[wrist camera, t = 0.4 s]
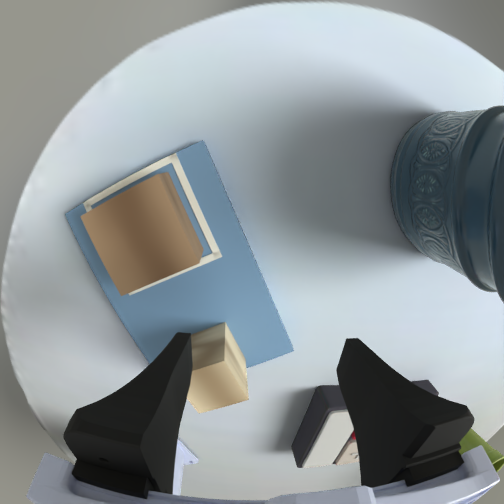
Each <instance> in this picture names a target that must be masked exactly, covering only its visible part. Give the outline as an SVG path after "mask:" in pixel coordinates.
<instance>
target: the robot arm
mask: <svg viewBox="0 0 504 504" xmlns="http://www.w3.org/2000/svg"><path fill="white" fill-rule="evenodd" d="M192 368H193V362H192V343H191V333H183V332H177V333H176V334H175V335H174V337H173V338H172V339H171V341H170V342H169V343H168V345H167V346H166V347H165V348H164V349H163V351H162V352H161V353H160V354H159V355H158V356H157V357H156V358H155V359H154V361H153V362H152V363H150V364H149V365H148V366H147V367H146V368H145V369H144V370H143V371H142V372H141V373H140V374H139V375H138V376H136V377H135V378H134V379H133V380H131V381H130V382H129V383H127V384H126V385H125V386H123V387H122V388H120V389H119V390H117V391H116V392H114V393H112V394H111V395H109V396H107V397H105V398H103V399H101V400H99V401H97V402H95V403H92V404H90V405H87V406H84V407H82V408H79V409H77V410H76V411H75V413H74V414H73V416H72V418H71V419H70V421H69V424H68V426H67V428H66V430H65V432H64V440H65V442H66V444H67V446H68V447H69V448H70V450H71V451H72V453H73V454H74V456H75V457H76V458H77V460H76V463H75V465H73V464H72V463H71V462H69V461H67V460H64V459H61V458H59V457H56V456H54V455H51V454H49V453H44V455H43V457H42V460H41V462H40V464H39V467H38V469H37V471H36V474H35V476H34V478H33V481H32V483H31V486H30V488H29V491H28V493H27V498H28V499H29V500H30V501H31V502H33V503H34V504H472V503H473V502H474V501H476V500H477V499H478V498H480V496H482V495H483V494H485V493H486V492H487V491H488V490H490V489H491V488H492V487H493V486H494V485H496V484H497V483H498V482H499V481H500V478H499V476H498V475H497V472H496V470H495V469H494V467H493V465H492V463H491V461H490V459H489V457H488V455H487V454H486V452H485V450H484V448H483V446H482V445H480V446H478V447H476V448H473V449H471V450H469V451H467V452H465V453H463V454H462V455H460V453H459V450H460V449H461V445H460V443H459V442H460V441H461V440H462V438H463V437H464V436H465V435H466V434H467V432H468V431H469V430H470V428H471V427H472V425H473V423H474V417H473V415H472V414H471V412H470V410H469V409H468V407H467V406H466V405H462V404H459V403H455V402H452V401H449V400H446V399H444V398H441V397H439V396H436V395H434V394H432V393H430V392H428V391H426V390H424V389H422V388H420V387H419V386H417V385H415V384H414V383H412V382H411V381H409V380H407V379H406V378H404V377H403V376H402V375H400V374H399V373H398V372H396V371H395V370H394V369H393V368H391V367H390V366H389V365H388V364H386V363H385V362H384V361H383V360H382V359H381V358H380V357H378V356H377V355H376V354H375V353H374V352H373V351H372V350H371V349H370V348H369V347H367V346H366V345H365V344H364V343H363V342H362V341H361V340H359V339H358V338H351V339H346V341H345V345H344V348H343V351H342V354H341V357H340V361H339V364H338V367H337V376H338V381H339V386H340V390H341V393H342V396H343V398H344V401H345V404H346V407H347V410H348V413H349V416H350V419H351V422H352V425H353V428H354V433H355V438H356V443H357V449H358V455H359V463H360V472H361V486H353V487H347V488H341V489H334V490H327V491H319V492H309V493H297V494H289V495H282V496H278V497H275V498H272V499H269V500H258V501H250V500H221V499H207V498H196V497H188V496H180V494H181V484H182V475H183V465H188V464H195V463H198V461H199V459H198V458H197V457H196V456H195V455H194V454H193V453H192V452H191V451H189V450H188V449H187V448H186V447H185V446H184V445H183V444H182V442H181V441H180V440H179V439H178V433H179V427H180V422H181V418H182V414H183V410H184V407H185V403H186V399H187V395H188V391H189V387H190V383H191V375H192Z"/></svg>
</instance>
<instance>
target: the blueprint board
mask: <svg viewBox="0 0 504 504" xmlns="http://www.w3.org/2000/svg"><path fill="white" fill-rule="evenodd" d="M166 172H169V174H170V177H171V179H172V181H173V184H174V186H175V188H176V190H177V192H178V195H179V197H180V199H181V201H182V204H183V206H184V208H185V210H186V212H187V215H188V217H189V219H190V221H191V223H192V225H193V228H194V230H195V232H196V234H197V236H198V238H199V240H200V243H201V245H202V247H203V249H204V250H203V253H202V257H201V260H200V263H199V264H197V265H194V266H192V267H190V268H187V269H185V270H182V271H180V272H178V273H175V274H173V275H170V276H168V277H166V278H163V279H161V280H159V281H156V282H154V283H152V284H149V285H147V286H144V287H142V288H140V289H137V290H135V291H133V292H130V293H128V294H126V295H123V296H121V295H120V293H119V291H118V290H117V288H116V286H115V284H114V282H113V281H112V279H111V277H110V275H109V273H108V271H107V270H106V268H105V266H104V264H103V262H102V260H101V258H100V256H99V254H98V252H97V250H96V248H95V246H94V244H93V242H92V240H91V238H90V236H89V234H88V232H87V230H86V228H85V225H84V223H83V221H82V219H81V217H80V216H82V215H84V214H85V213H87V212H89V211H90V210H92V209H94V208H95V207H97V206H99V205H101V204H102V203H104V202H106V201H108V200H109V199H111V198H113V197H115V196H117V195H118V194H120V193H122V192H124V191H126V190H128V189H130V188H131V187H133V186H135V185H137V184H139V183H141V182H143V181H145V180H147V179H149V178H151V177H153V176H155V175H157V174H160V173H166ZM65 215H66V217H67V220H68V222H69V224H70V226H71V228H72V231H73V233H74V235H75V237H76V239H77V241H78V243H79V245H80V247H81V249H82V251H83V253H84V255H85V257H86V259H87V261H88V263H89V265H90V267H91V269H92V271H93V273H94V274H95V276H96V278H97V280H98V282H99V283H100V285H101V287H102V289H103V291H104V292H105V294H106V296H107V298H108V299H109V301H110V303H111V304H112V306H113V308H114V309H115V311H116V313H117V314H118V316H119V318H120V319H121V321H122V322H123V324H124V326H125V327H126V329H127V330H128V332H129V333H130V335H131V336H132V338H133V340H134V341H135V343H136V344H137V346H138V347H139V348H140V350H141V351H142V353H143V354H144V356H145V357H146V359H147V360H148V361H149V363H152V362H153V361H154V359H155V358H156V357H157V356H158V355H159V354H160V353H161V352H162V351H163V349H164V348H165V347H166V346H167V345H168V343H169V342H170V341H171V339H172V338H173V337H174V335H175V334H176V333H177V332H183V333H191V334H194V333H197V332H200V331H203V330H205V329H208V328H211V327H214V326H216V325H219V324H222V323H224V322H226V324H227V326H228V328H229V330H230V331H231V333H232V335H233V337H234V339H235V341H236V343H237V344H238V346H239V348H240V350H241V352H242V353H243V355H244V357H245V359H246V368H249V367H251V366H254V365H257V364H260V363H263V362H266V361H268V360H271V359H274V358H277V357H279V356H282V355H284V354H287V353H290V352H292V351H294V350H293V347H292V344H291V341H290V339H289V337H288V334H287V332H286V330H285V327H284V325H283V323H282V321H281V318H280V316H279V314H278V311H277V309H276V307H275V304H274V302H273V300H272V297H271V295H270V293H269V290H268V288H267V286H266V284H265V281H264V279H263V277H262V274H261V272H260V270H259V267H258V265H257V263H256V260H255V258H254V256H253V253H252V251H251V249H250V246H249V244H248V242H247V240H246V237H245V235H244V233H243V230H242V228H241V226H240V223H239V221H238V219H237V216H236V214H235V212H234V209H233V207H232V205H231V203H230V200H229V198H228V196H227V193H226V191H225V189H224V186H223V184H222V182H221V179H220V177H219V175H218V172H217V170H216V168H215V165H214V163H213V161H212V159H211V156H210V154H209V152H208V149H207V147H206V145H205V142H204V141H200V142H198V143H196V144H194V145H191V146H189V147H187V148H185V149H183V150H181V151H178V152H176V153H174V154H172V155H170V156H168V157H166V158H164V159H161V160H159V161H157V162H155V163H153V164H152V165H150V166H148V167H146V168H144V169H142V170H140V171H138V172H136V173H134V174H132V175H130V176H129V177H127V178H125V179H123V180H121V181H119V182H118V183H116V184H114V185H112V186H111V187H109V188H107V189H105V190H104V191H102V192H100V193H98V194H97V195H95V196H93V197H92V198H90V199H88V200H87V201H85V202H83V203H82V204H80V205H79V206H77V207H76V208H74V209H72V210H71V211H69V212H68V213H66V214H65Z"/></svg>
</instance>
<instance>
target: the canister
mask: <svg viewBox="0 0 504 504" xmlns="http://www.w3.org/2000/svg"><path fill="white" fill-rule="evenodd" d="M391 198H392V204H393V209H394V213H395V216H396V219H397V221H398V223H399V226H400V227H401V229H402V231H403V233H404V234H405V236H406V237H407V238H408V239H409V240H410V241H411V242H412V244H413V245H414V246H415V247H416V248H417V249H418V250H419V251H420V252H421V253H423V254H424V255H426V256H427V257H429V258H431V259H432V260H434V261H436V262H439V263H442V264H445V265H447V266H449V267H450V268H452V269H454V270H455V271H457V272H459V273H460V274H462V275H464V276H465V277H467V278H468V279H469V280H470V281H471V283H473V284H474V285H475V286H476V287H478V288H479V289H481V290H483V291H487V292H498V294H499V297H500V298H501V300H502V301H503V303H504V106H494V107H491V108H489V109H487V110H476V111H466V112H456V111H446V112H440V113H435V114H433V115H430V116H428V117H426V118H425V119H423V120H421V121H419V122H418V123H416V124H415V125H414V126H413V127H412V128H411V129H410V130H409V131H408V132H407V133H406V134H405V136H404V137H403V139H402V141H401V142H400V144H399V146H398V149H397V151H396V154H395V157H394V161H393V165H392V172H391Z"/></svg>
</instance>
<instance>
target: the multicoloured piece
mask: <svg viewBox="0 0 504 504" xmlns="http://www.w3.org/2000/svg"><path fill="white" fill-rule="evenodd" d="M412 383H414V384H415V385H417V386H419V387H420V388H422V389H424V390H426V391H428V392H430V393H432V394H434V395H436V396H438V394H439V393H438V391H437V390H436V389H435V388H434V386H433V385H432V384H431V383H430V382H429V380H421V381H412ZM292 450H293V454H294V458H295V461H296V465H297V467H298V468H311V467H320V466H327V465H331V464H336V465H342V464H348V463H354V462H359V455H358V449H357V443H356V438H355V433H354V428H353V425H352V422H351V419H350V416H349V413H348V410H347V407H346V404H345V401H344V398H343V396H342V393H341V390H340V386H339V385H321V386H318V387H317V388H316V390H315V393H314V395H313V398H312V400H311V402H310V405H309V407H308V410H307V412H306V415H305V417H304V419H303V422H302V424H301V426H300V428H299V431H298V433H297V435H296V437H295V440H294V442H293V444H292Z"/></svg>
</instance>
